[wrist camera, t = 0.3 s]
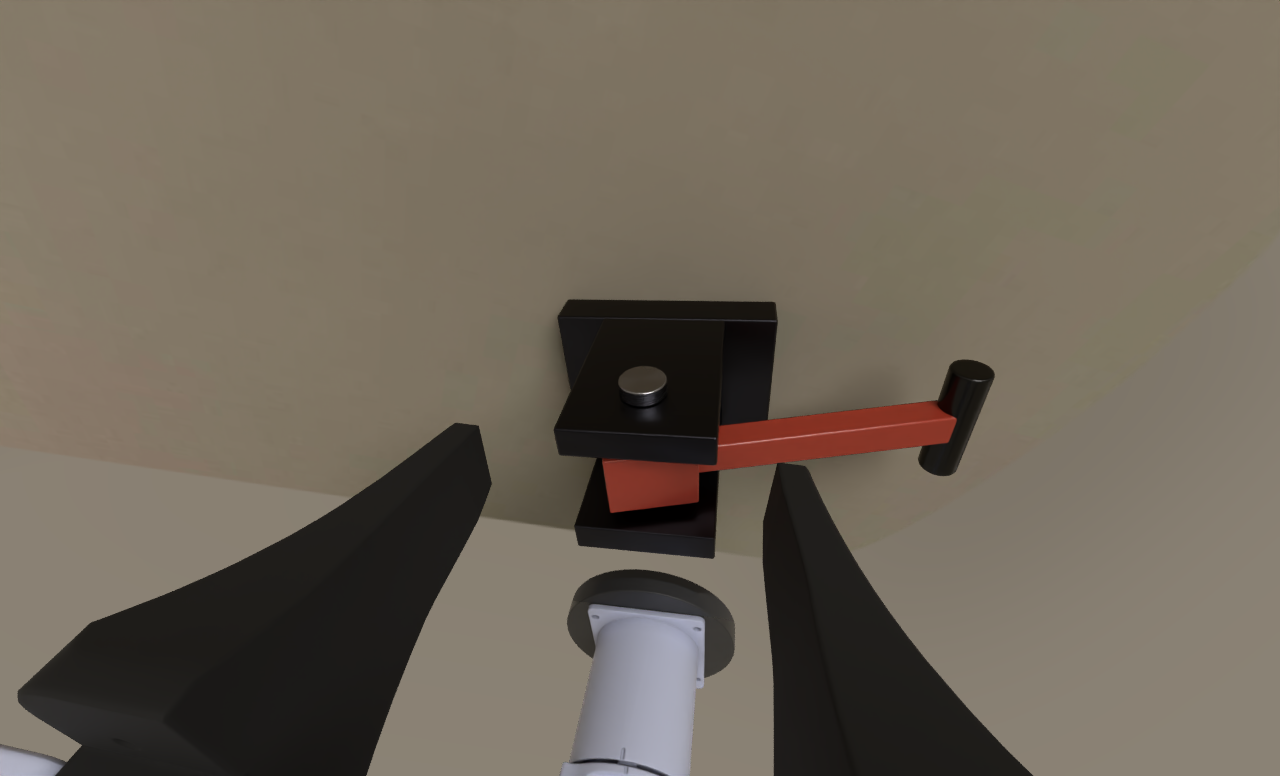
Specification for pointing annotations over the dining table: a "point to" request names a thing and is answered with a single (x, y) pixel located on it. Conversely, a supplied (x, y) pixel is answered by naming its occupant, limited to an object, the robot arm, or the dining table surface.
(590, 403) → the bracket
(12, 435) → the dining table surface
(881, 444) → the lever
